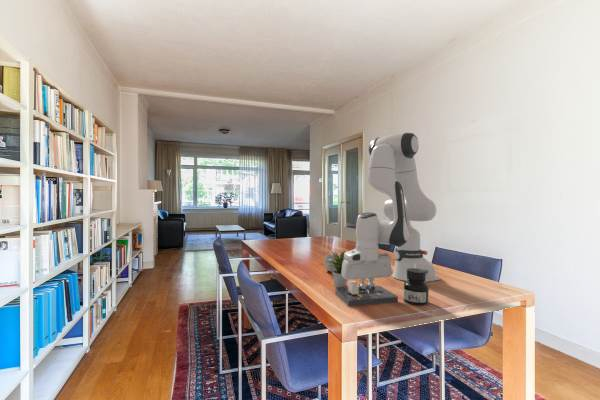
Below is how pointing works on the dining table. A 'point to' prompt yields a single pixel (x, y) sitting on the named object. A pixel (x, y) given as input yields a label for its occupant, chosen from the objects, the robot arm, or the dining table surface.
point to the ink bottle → (416, 287)
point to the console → (366, 296)
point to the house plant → (338, 270)
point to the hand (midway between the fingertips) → (366, 288)
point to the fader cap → (353, 287)
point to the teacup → (328, 258)
